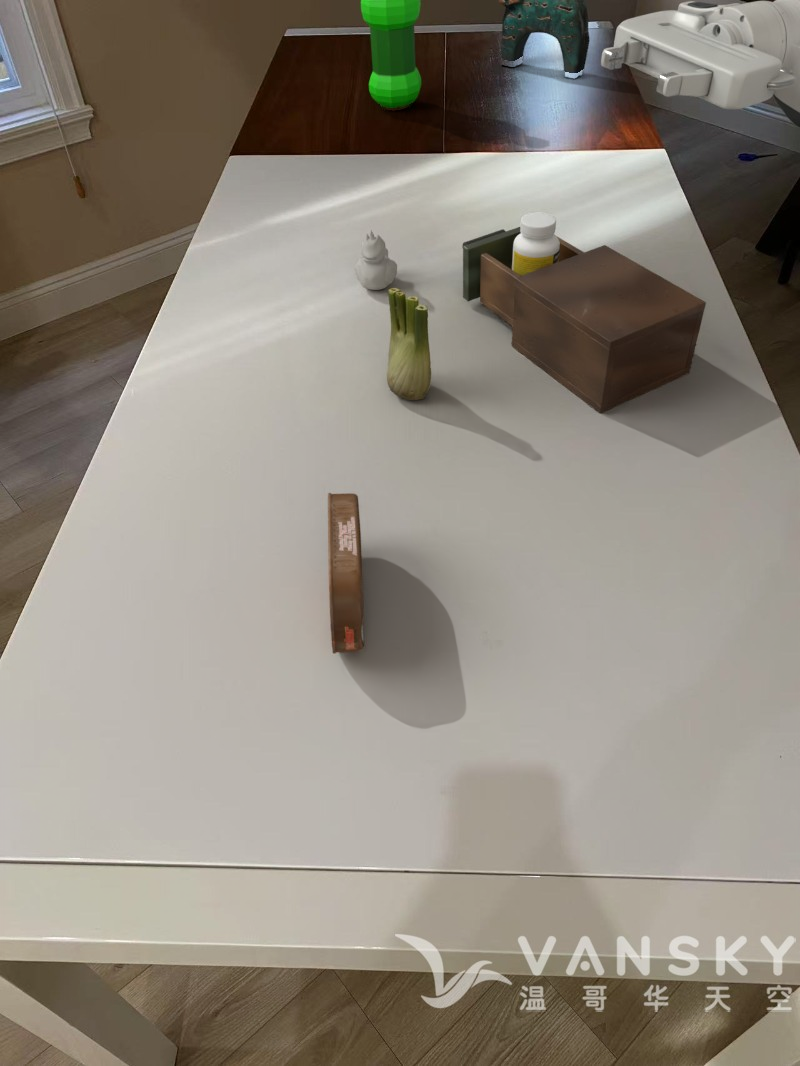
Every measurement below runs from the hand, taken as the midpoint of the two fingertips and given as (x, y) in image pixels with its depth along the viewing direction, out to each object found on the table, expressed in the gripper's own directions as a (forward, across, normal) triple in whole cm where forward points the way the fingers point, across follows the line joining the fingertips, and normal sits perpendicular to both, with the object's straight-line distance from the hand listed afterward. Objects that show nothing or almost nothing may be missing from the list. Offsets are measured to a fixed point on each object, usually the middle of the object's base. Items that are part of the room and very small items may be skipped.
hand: (632, 72), depth 87 cm
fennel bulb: (+30, -7, -26) cm, 41 cm away
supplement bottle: (+10, 0, -24) cm, 26 cm away
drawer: (+10, +2, -25) cm, 27 cm away
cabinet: (+9, -12, -25) cm, 30 cm away
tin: (+48, -31, -26) cm, 63 cm away
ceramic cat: (-42, +76, -26) cm, 91 cm away
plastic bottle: (-9, +75, -27) cm, 80 cm away
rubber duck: (+23, +17, -27) cm, 39 cm away
